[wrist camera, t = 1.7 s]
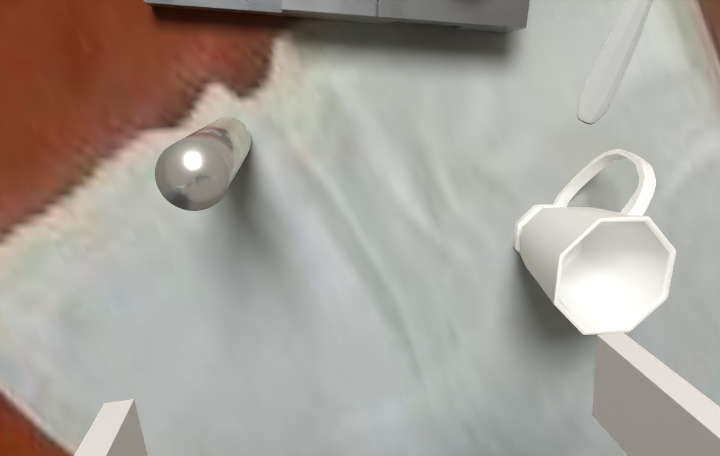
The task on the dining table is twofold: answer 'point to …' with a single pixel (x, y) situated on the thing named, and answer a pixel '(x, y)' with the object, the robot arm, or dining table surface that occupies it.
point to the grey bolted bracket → (379, 11)
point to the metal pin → (203, 164)
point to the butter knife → (612, 61)
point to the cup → (599, 254)
